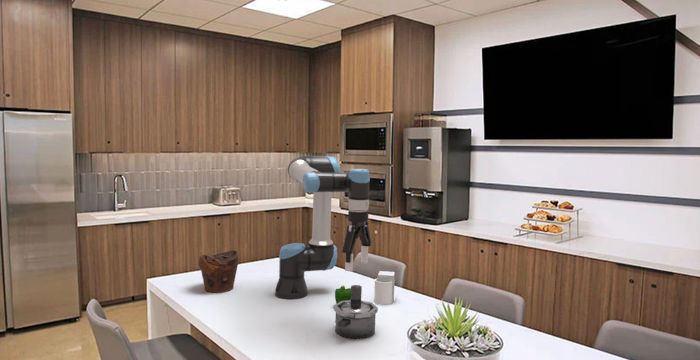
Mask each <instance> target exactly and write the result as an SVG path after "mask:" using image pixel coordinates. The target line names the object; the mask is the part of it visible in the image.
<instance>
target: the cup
mask: <svg viewBox="0 0 700 360" xmlns="http://www.w3.org/2000/svg"><path fill="white" fill-rule="evenodd" d="M373 294H374V295H373V296H374V297H373V301H374V304H375V305H381V306H389V305H392V304H393V303H392V282H378V277H377V278H375V279H374V293H373Z"/></svg>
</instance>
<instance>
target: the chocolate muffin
mask: <svg viewBox="0 0 700 360" xmlns="http://www.w3.org/2000/svg"><path fill="white" fill-rule="evenodd" d="M198 258H199V259H198V262H197V265H198V267H199V268H200V272H201V277H202V281H203V286H204V291H206V292H207V293H208V292H209V293H225V292H226V293H227V292H229V291H232V290H233V289H234V285H235V281H236V276H237V270H238V266H239V261H240V258H239V253H238V251H237V250H235V249H233V250H229V251H226V252H225V251H224V252H221V253H217V254H213V255H212V254H200V255H199V257H198Z"/></svg>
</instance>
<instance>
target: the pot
mask: <svg viewBox="0 0 700 360" xmlns="http://www.w3.org/2000/svg"><path fill="white" fill-rule="evenodd" d="M347 303H351V300H347V301H341V302H339V303H337V304H336V303H335V304H334V305H333V311H334V312H335V327H334V330H335V332H334V333H335V334H336V335H337V336H338V337H341V338H344V339H348V340H365V339H369V338H371V337H373V336H374V335H375V333H376V317H377V316H376V314H377V313H378V309H379V308H378V305H377V306H376V304H375V303H373V302H370V301H368V300H367V301H365V300H362V299H361V303H363V304H366V305H368V306H370V311H369V312H362V313H351V312H346V311H342V310H341V306H342V305H344V304H347Z"/></svg>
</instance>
